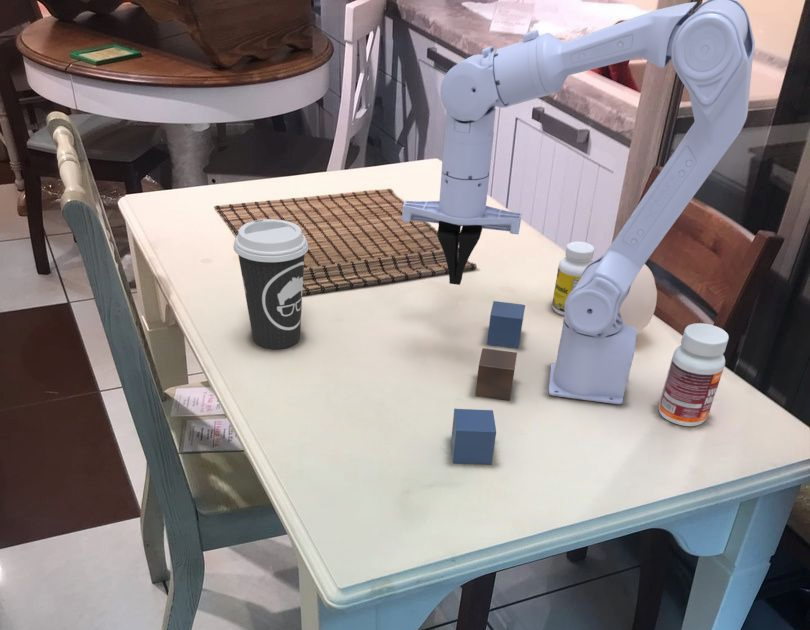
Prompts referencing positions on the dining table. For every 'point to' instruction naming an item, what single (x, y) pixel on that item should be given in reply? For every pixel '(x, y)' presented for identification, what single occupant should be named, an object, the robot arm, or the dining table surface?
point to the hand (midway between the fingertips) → (455, 281)
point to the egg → (640, 300)
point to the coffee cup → (272, 279)
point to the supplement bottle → (570, 272)
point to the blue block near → (473, 436)
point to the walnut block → (495, 374)
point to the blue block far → (505, 324)
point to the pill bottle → (694, 375)
